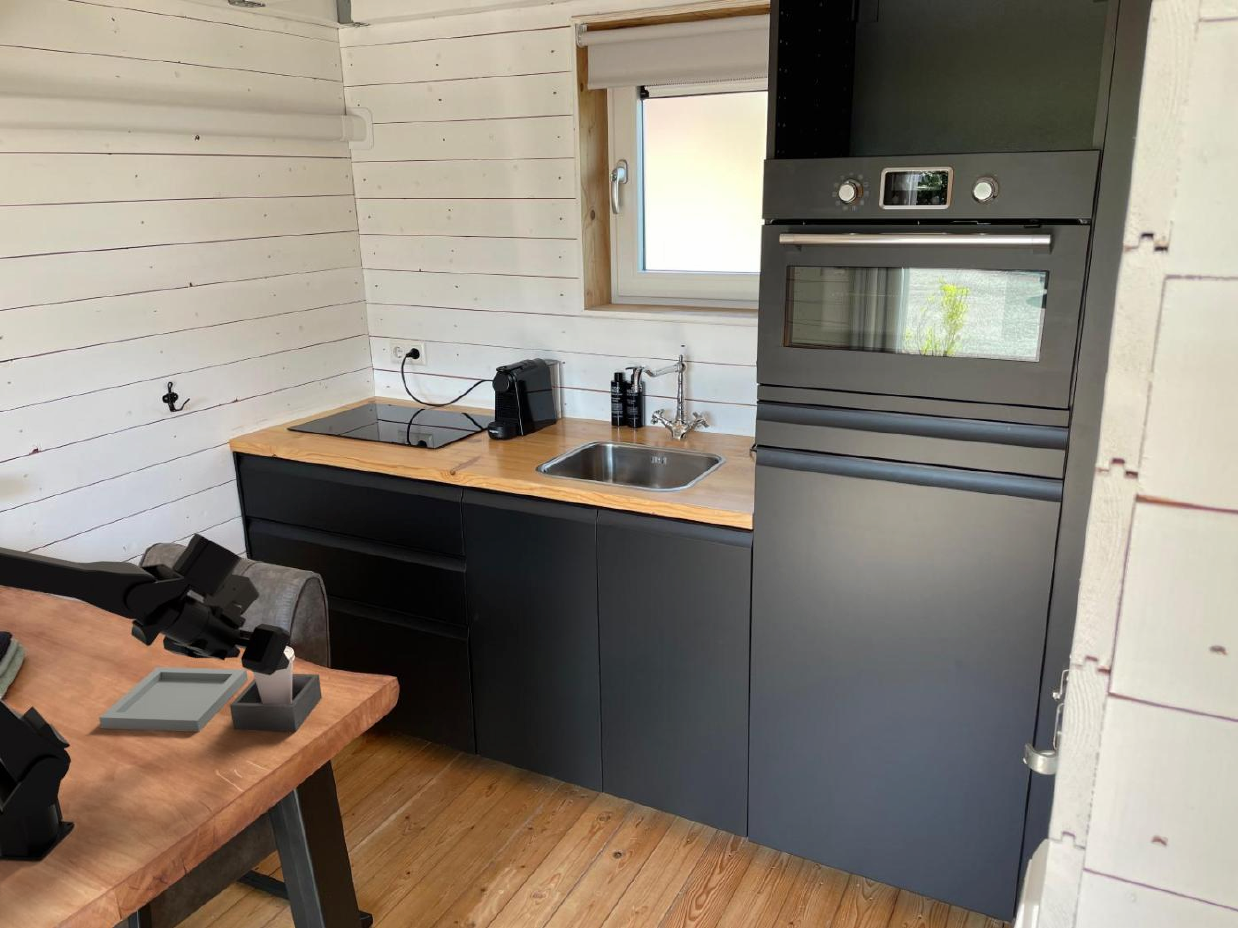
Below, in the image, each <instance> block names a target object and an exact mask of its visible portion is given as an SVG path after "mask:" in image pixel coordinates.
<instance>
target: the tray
mask: <svg viewBox="0 0 1238 928" xmlns="http://www.w3.org/2000/svg"><path fill="white" fill-rule="evenodd" d="M247 671H248V669H244V668H243V669H241V668H240V669H238V668H237V669H236V668H204V667H203V668H202V667H196V668H195V667H170V666H168V667H165V666H162V667H161V666H157V667H155V668H154V669H153V670H152V671H151V672H150V673H148V674H147V675H146V676H145V677H144V678H142V679H141V681H139V682H138V683H137V684H136V685H135V686H133V687H132V688H131V689H130V690H129V691H128V692H127V693H125V694H124V695H123V696H122V697H120V699H118V700H117V701H116V702H115V703H114V704H112V705H111V706H110V707H109V708H108V709H107V710H105V711H104V712H103V713H102V714H101V715H100V716H99V717H98V718H99V720H98V721H99V725H100V728H101V729H107V730H108V729H113V730H141V731H144V730H145V731H174V732H200V731H201V730H202V729H203V728H204V727H205V726H206V725H207V724H208V723H209V722H210V720H212V719H213V718H214V717H215V715H216V714H217V713H218V712H219V711H220V710H221V709H222V708H223V707H224V706H225V705H226V704H227V703H228V702H229V701H230V699H231V698H232V697H233V696H234V695H235V694H236V693H237V692H238V691H239V690H240V689H241V688H242V687H243V685H245V684H246V682H247V681H248V672H247Z"/></svg>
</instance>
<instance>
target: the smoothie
mask: <svg viewBox="0 0 1238 928" xmlns="http://www.w3.org/2000/svg"><path fill="white" fill-rule="evenodd" d="M284 653H285V655H286V656H287V658H288V660H289V661H290V662H289V665H288V667H287V669H282V670H277V671H275V673H273V674H272V675H266V674H261V673H257V672H253V671H252V674H253V677H254V679H255V681H256V684H257V687H258V691H259V694H260V698H261V701H262V704H291V703H292V702H293V699H292V674H293V669H294V668H293V665H294V664H293V662H294V661H295V658H296V656H295V651H294V649H293V648H292V647H290V646H286V648H285V650H284Z"/></svg>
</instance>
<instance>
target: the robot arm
mask: <svg viewBox="0 0 1238 928" xmlns="http://www.w3.org/2000/svg"><path fill="white" fill-rule="evenodd" d="M242 561H243V558H242V557H241V556H239V555H238V554H236V553H234V552H233V551H231V550H230V549H228V548H226V547H224V546H222V545H221V544H218V543H216V542H215V541H213V540H209V539H208V538H207V537H205V536H203V535H201V534H200V533H195V534H193V536H192V538H190V540H189V541H188V544H187V547H185V549H184V550H183V552H181V554H180V556H179V557H178V559H177V560H176V561H175V563H174V564H173V565H172V567H170V566H169V565H167V564H166V563H156V564H149V565H142V566H139V565H137V564H135V563H133V562H128V561H127V562H126V561H107V560H106V561H105V560H103V561H102V560H99V561H93V562H78V561H77V562H76V561H71V560H67V559H62V558H56V557H50V556H47V555H42V554H37V553H31V552H26V551H21V550H16V549H12V548H6V547H1V546H0V586H3V587H9V588H13V589H14V588H15V589H19V590H25V591H31V592H38V593H42V594H49V595H54V596H60V597H66V598H71V599H76V600H78V601H79V600H80V601H81V602H85V603H87V604H88V605H92V606H94V607H96V608H98V609H99V610H103V611H106V612H108V613H111V614H114V615H117V616H118V617H122V618H125V619H129V620H132V621H131V624H132V627H131V636H132V637H134V638H135V639H136V640H138V641H139V642H141V643H142V644H144V645H146V646H147V647H149V646H151V645H152V644H153V643H154V642H155V641H156V639H157V637H158V636H159V635H160V634H161V635H162V636H164V637H163V640H162V644H163V650H166V651H168V652H170V653H172V654H175V655H179V656H183V657H189V658H191V659H192V658H193V659H216V660H220V661H225V659H232V658H233V659H235V658H236V659H237V658H239V656H240V654H241V649H244V652H243V653H242V655H241V658H240V660H241V667H242V668H243V669H245V670H247V671H251V672H252V673H253V672H257V673H261V674H266V675H272V674H273V673H275V671H277V670H282V669H287V667H288V665H289V662H290V661H289V660H288V658H287V656H286V655H285V653H284V650H285V648H286V646H287V645H288V643H289V641H290V639H291V634H290V631H288V630H287V629H285V628H284V627H281V626H277V625H276V626H275V625H273V624H268V623H267V624H266V623H261V624H260V623H259V625H257V626H255V627H254V629H253V631H249V630H243V629H242V628H243V627H244V625H245V623H246V620H247V618H245V617H243V615H244V614H245V613H246V611H248V609H249V608H250V606H251V605H252V604H254V601H257V599H259V597H260V592H259V591H258V588H257V587H256V586H255V584H254V583H253V582H252V579H251V578H250V577H249V576H243V575H238V574H235V573H234V571H235V570H236V569H237V567H238V566H239V565H240V564H241V562H242ZM190 591H191V592H193V593H196V594H197V595H199V596H200V597H202V599H203V600H202V601H200V600H198V599H197V598H195V597H193V596H191V595H190V594H189V592H190ZM240 628H241V629H240ZM239 648H240V649H239ZM70 746H71V744H70V743H69V742H68V741H67V739H66V738H64V736H63V735H62V734H61V733H60V732H59V730H57V728H56V727H55V726H54V725H53V724H51V723H49V722H47V720H46V719H45V718H44V717H43V716H42V715H41V713H40V712H39V711H38V710H37V709H36V708H35V707H34V706H33V705H32V706H30V708H28V709H27V711H26V712H25V713H24V714H22V713H20V712H19V711H16V710H14V709H12V708H11V707H10V706H8V705H7V704H6V703H5V702H4V701H3V700H2V699H1V698H0V860H9V861H10V860H11V861H13V860H15V861H32V862H33V861H34V862H38V861H41V860H42V859H44V858H45V857H47V855H48V854H49V853H50V852H51V851H52V850H53V849H54V848H55V846H56V845H58V843H59V844H60V842H61V841H62V839H63V838H64V837H66V836H67V835H68V833H70V832H71V830H72V829H74V828H75V822H74V821H65V820H64V821H63V814H62V809H61V804H60V800H59V791H60V788H61V787H60V786H61V783H62V780H63V779H64V778H65V777H66V775H67V773H68V771H69V770H70V765H71V763H72V759H71V756H70V754H69V753H68V751H67V750H66V749H67V748H69V747H70ZM63 840H64V839H63Z"/></svg>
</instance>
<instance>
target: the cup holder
mask: <svg viewBox="0 0 1238 928" xmlns="http://www.w3.org/2000/svg"><path fill="white" fill-rule="evenodd" d="M320 681H321V680H320V674H318V673H317V674H311V673H308V674H307V673H292V703H291V704H262V701H261V698H260V694H259V691H258V687H257V684H256V681H255V678H253V679H252V681H251V682H249V683H248V685H247V686H246V687H245V688H244V689H243V691H242V692H240V693H239V694H238V695H237V697H236V698H235V699H234V700H232V702H231V704H229V708H230V713H231V721H232V722H231V723H232V727H233V730H234V731H236V730H239V731H259V732H260V731H264V732H265V731H266V732H291V733H292V732H294V733H296V732H297V731H298V730H299V728H301V726H302V725H303V723H304V722H305V720H306V719H307V718H308V717H309V716H310V714H311V713H312V712H313V710H314V708H315V707H316V706H317V705H318V703H320V701H321V699H322V690H321V682H320Z"/></svg>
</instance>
